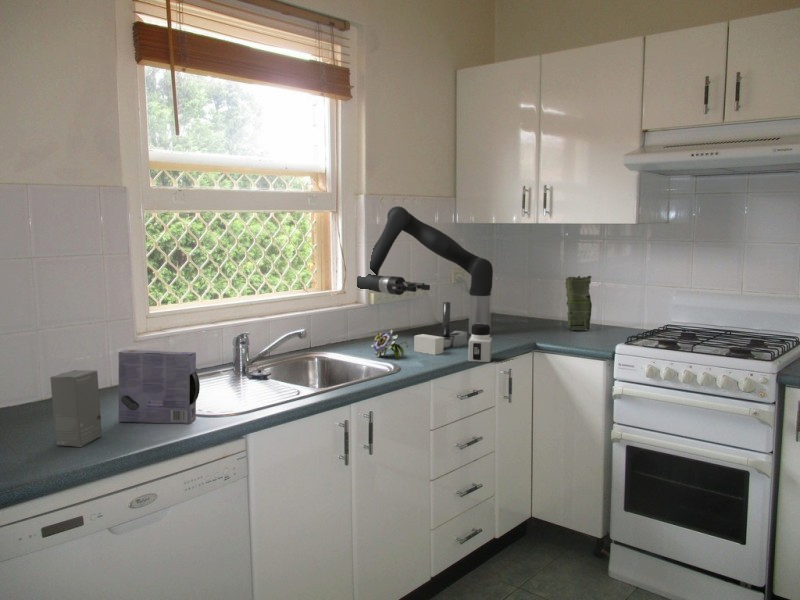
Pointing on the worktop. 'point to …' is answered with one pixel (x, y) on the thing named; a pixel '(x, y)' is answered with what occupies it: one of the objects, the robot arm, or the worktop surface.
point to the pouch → (578, 302)
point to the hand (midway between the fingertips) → (422, 288)
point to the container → (480, 343)
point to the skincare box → (76, 407)
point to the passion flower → (387, 344)
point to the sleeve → (459, 338)
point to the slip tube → (446, 325)
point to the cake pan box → (157, 386)
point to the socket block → (428, 344)
